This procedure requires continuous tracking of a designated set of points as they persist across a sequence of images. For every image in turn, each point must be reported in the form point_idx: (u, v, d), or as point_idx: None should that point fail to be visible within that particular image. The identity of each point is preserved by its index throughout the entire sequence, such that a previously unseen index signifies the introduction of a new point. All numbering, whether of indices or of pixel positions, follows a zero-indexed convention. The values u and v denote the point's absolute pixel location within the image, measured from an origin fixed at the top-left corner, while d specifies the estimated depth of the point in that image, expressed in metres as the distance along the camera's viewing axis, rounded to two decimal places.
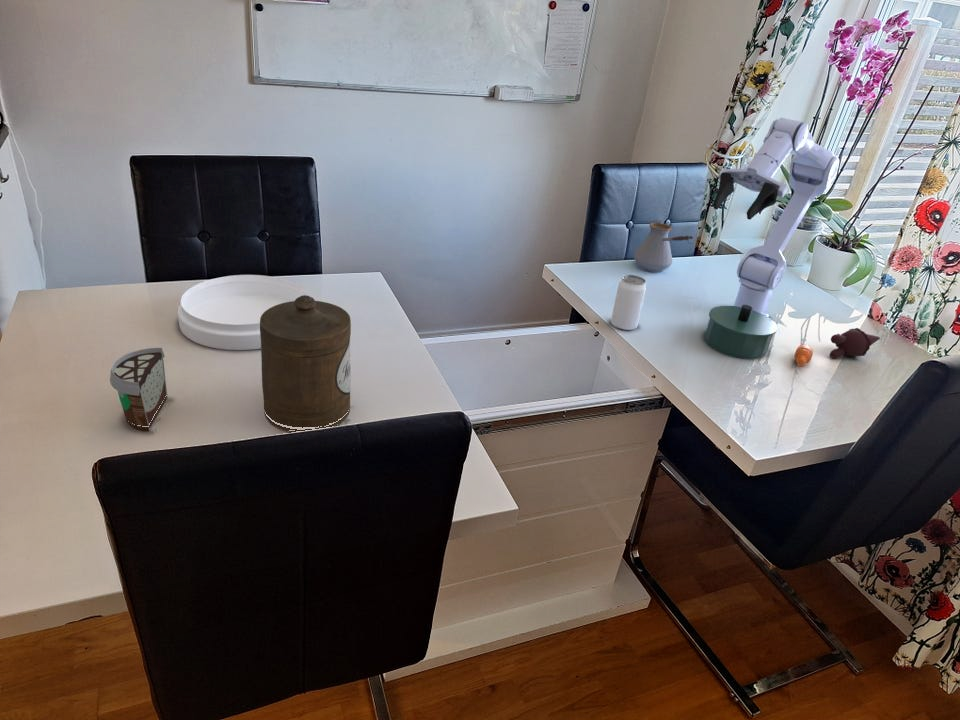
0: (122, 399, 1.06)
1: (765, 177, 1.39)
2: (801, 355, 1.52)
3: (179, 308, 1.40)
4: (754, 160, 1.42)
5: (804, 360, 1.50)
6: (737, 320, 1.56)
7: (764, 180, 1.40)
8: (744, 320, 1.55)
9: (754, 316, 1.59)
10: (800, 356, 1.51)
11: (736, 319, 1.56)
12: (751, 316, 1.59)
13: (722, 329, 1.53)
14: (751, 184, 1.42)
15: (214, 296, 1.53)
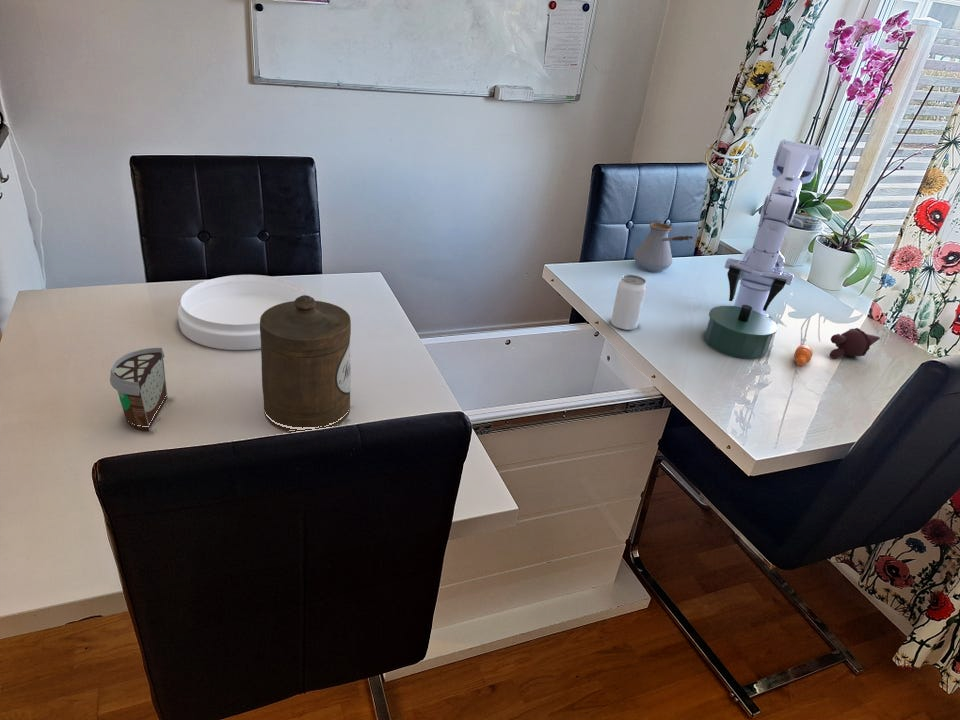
0: (122, 399, 1.06)
1: (770, 275, 1.47)
2: (801, 355, 1.52)
3: (179, 308, 1.40)
4: (755, 257, 1.47)
5: (804, 360, 1.50)
6: (737, 320, 1.56)
7: None
8: (744, 320, 1.55)
9: (754, 316, 1.59)
10: (800, 356, 1.51)
11: (736, 319, 1.56)
12: (751, 316, 1.59)
13: (722, 329, 1.53)
14: None
15: (214, 296, 1.53)
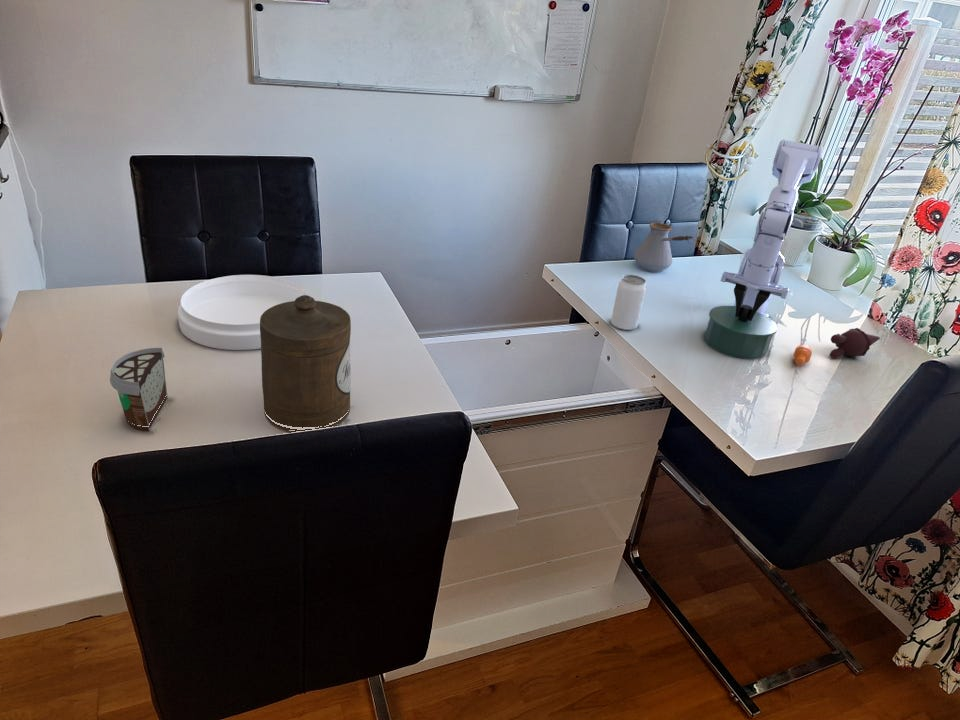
0: (122, 399, 1.06)
1: (766, 289, 1.49)
2: (799, 355, 1.52)
3: (179, 308, 1.40)
4: (751, 271, 1.49)
5: (803, 359, 1.50)
6: (737, 320, 1.56)
7: None
8: (744, 320, 1.55)
9: (754, 316, 1.59)
10: (798, 356, 1.51)
11: (736, 319, 1.56)
12: None
13: (722, 329, 1.53)
14: None
15: (214, 296, 1.53)
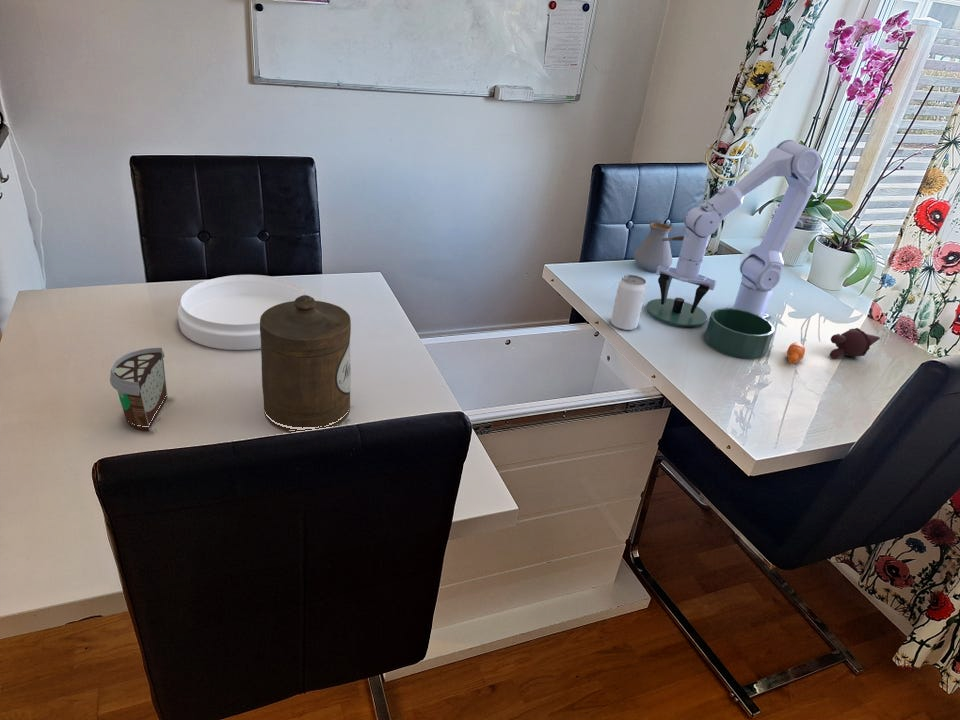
0: (122, 399, 1.06)
1: (695, 281, 1.63)
2: (789, 354, 1.53)
3: (179, 308, 1.40)
4: (681, 265, 1.63)
5: (793, 355, 1.51)
6: (671, 311, 1.70)
7: None
8: (677, 311, 1.69)
9: (688, 308, 1.73)
10: (789, 356, 1.52)
11: (670, 311, 1.70)
12: (685, 308, 1.73)
13: (722, 329, 1.53)
14: None
15: (214, 296, 1.53)
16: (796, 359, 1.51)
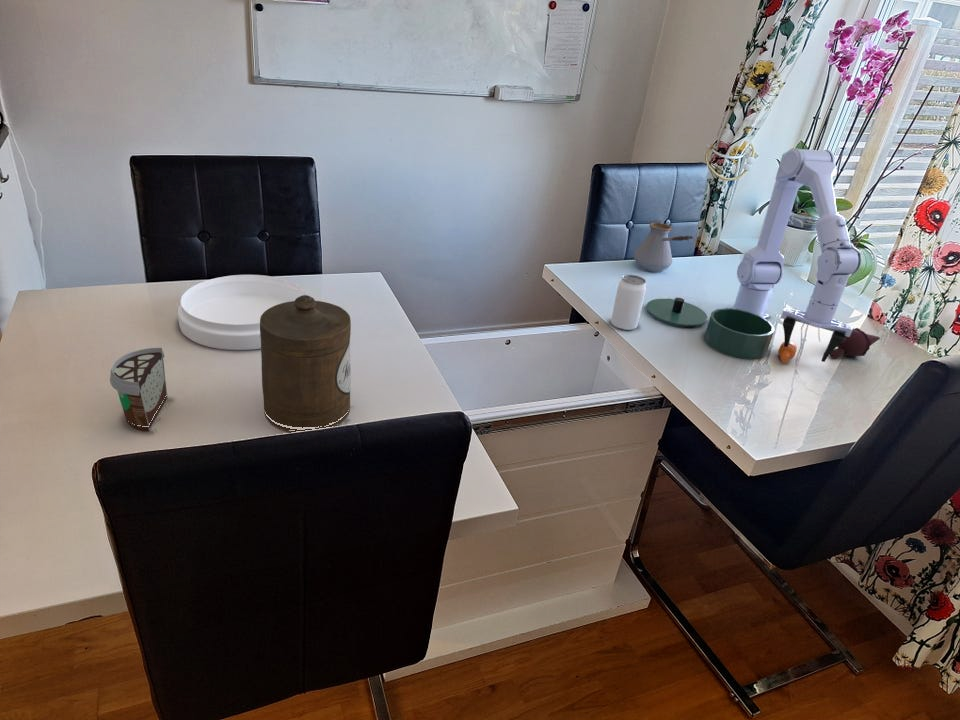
0: (122, 399, 1.06)
1: (829, 327, 1.47)
2: None
3: (179, 308, 1.40)
4: (814, 309, 1.46)
5: (781, 355, 1.52)
6: (671, 311, 1.70)
7: None
8: (677, 311, 1.69)
9: (688, 308, 1.73)
10: None
11: (670, 311, 1.70)
12: (685, 308, 1.73)
13: (722, 329, 1.53)
14: None
15: (214, 296, 1.53)
16: (785, 355, 1.51)
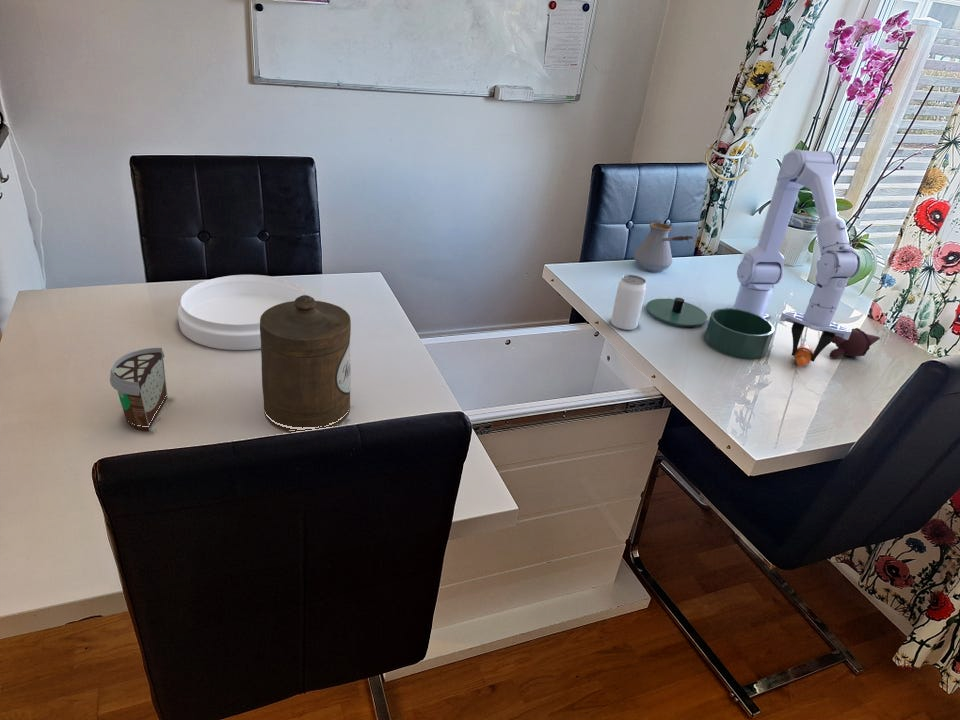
0: (122, 399, 1.06)
1: (828, 330, 1.47)
2: (806, 361, 1.51)
3: (179, 308, 1.40)
4: (813, 312, 1.47)
5: (801, 365, 1.51)
6: (671, 311, 1.70)
7: None
8: (677, 311, 1.69)
9: (688, 308, 1.73)
10: (806, 362, 1.51)
11: (670, 311, 1.70)
12: (685, 308, 1.73)
13: (722, 329, 1.53)
14: None
15: (214, 296, 1.53)
16: (797, 363, 1.51)
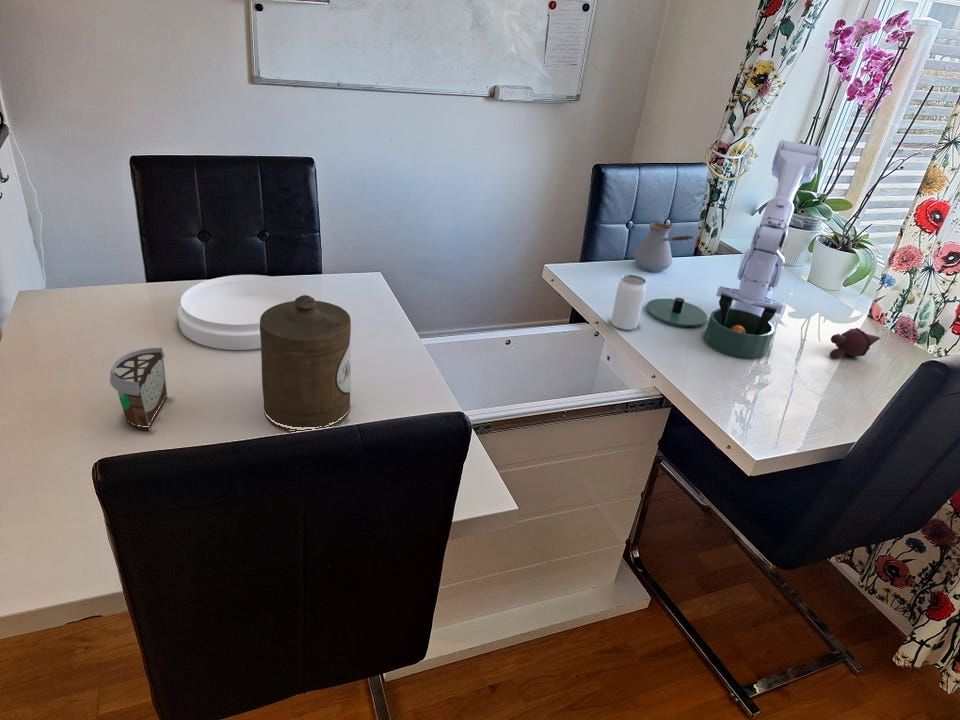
0: (122, 399, 1.06)
1: (761, 304, 1.51)
2: None
3: (179, 308, 1.40)
4: (746, 287, 1.51)
5: None
6: (671, 311, 1.70)
7: None
8: (677, 311, 1.69)
9: (688, 308, 1.73)
10: None
11: (670, 311, 1.70)
12: (685, 308, 1.73)
13: (722, 329, 1.53)
14: None
15: (214, 296, 1.53)
16: None
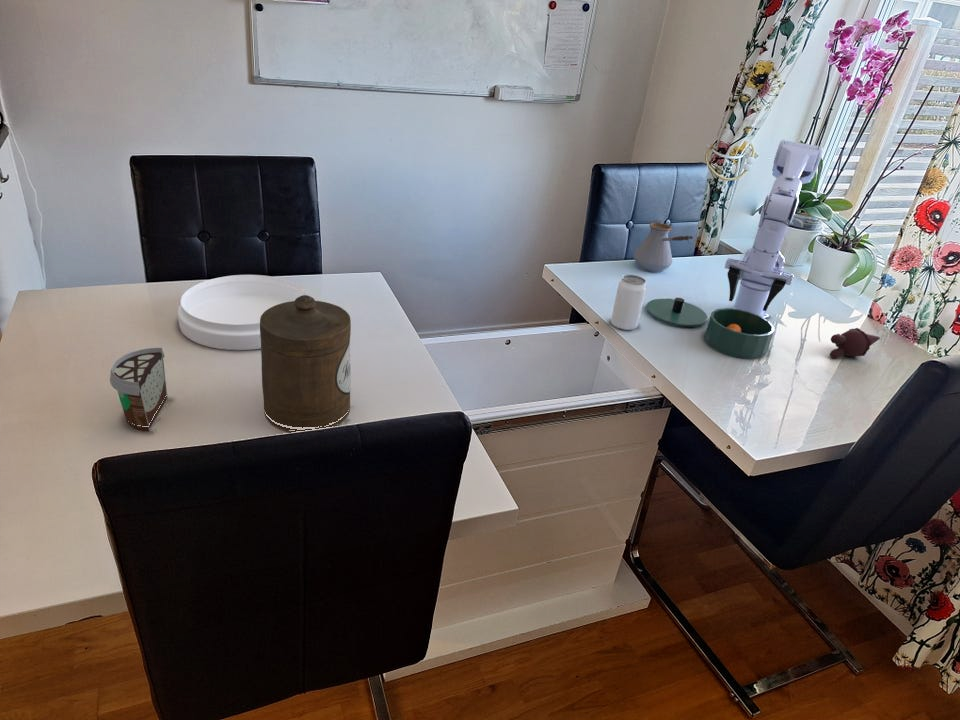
0: (122, 399, 1.06)
1: (770, 276, 1.47)
2: None
3: (179, 308, 1.40)
4: (755, 257, 1.47)
5: None
6: (671, 311, 1.70)
7: None
8: (677, 311, 1.69)
9: (688, 308, 1.73)
10: None
11: (670, 311, 1.70)
12: (685, 308, 1.73)
13: (722, 329, 1.53)
14: None
15: (214, 296, 1.53)
16: None
